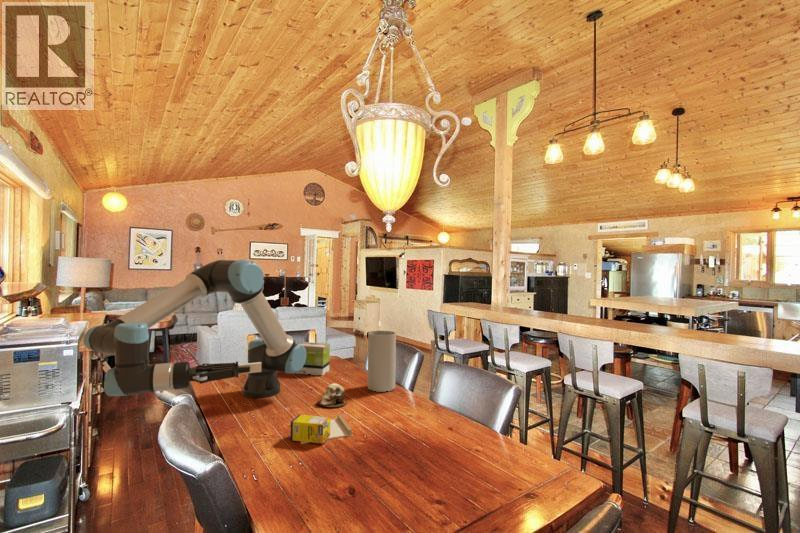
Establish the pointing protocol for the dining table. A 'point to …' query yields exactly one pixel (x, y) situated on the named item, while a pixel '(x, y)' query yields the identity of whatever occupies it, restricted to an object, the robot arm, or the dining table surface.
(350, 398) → the dining table surface
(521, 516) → the dining table surface
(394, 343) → the cylinder vase
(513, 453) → the dining table surface
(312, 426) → the supplement box
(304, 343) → the tea box
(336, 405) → the skull
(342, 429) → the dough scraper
